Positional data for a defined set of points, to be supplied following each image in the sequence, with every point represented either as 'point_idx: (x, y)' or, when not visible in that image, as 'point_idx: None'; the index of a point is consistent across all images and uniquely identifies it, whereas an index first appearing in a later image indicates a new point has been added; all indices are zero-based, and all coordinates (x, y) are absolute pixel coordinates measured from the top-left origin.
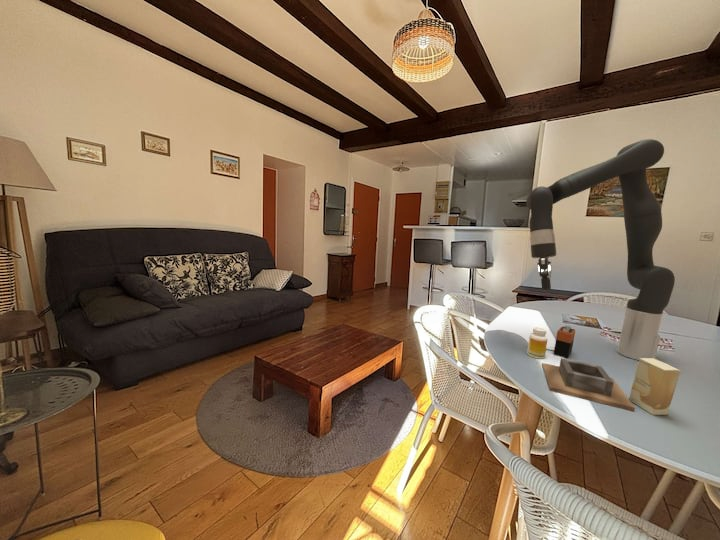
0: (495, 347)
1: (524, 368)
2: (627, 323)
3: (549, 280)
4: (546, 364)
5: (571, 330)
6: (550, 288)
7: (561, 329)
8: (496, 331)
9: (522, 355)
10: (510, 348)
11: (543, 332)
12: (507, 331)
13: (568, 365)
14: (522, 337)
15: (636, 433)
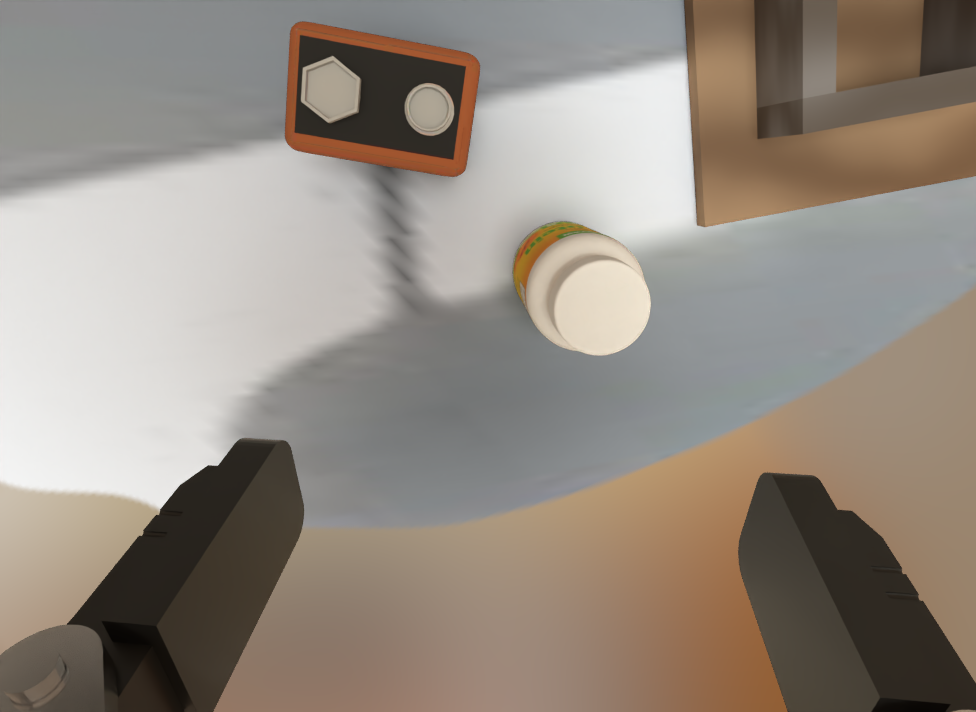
0: (592, 466)
1: (788, 300)
2: None
3: (184, 597)
4: (714, 205)
5: (369, 58)
6: (278, 443)
7: (413, 146)
8: None
9: None
10: (548, 401)
11: (640, 276)
12: None
13: (907, 88)
14: (279, 374)
15: None
